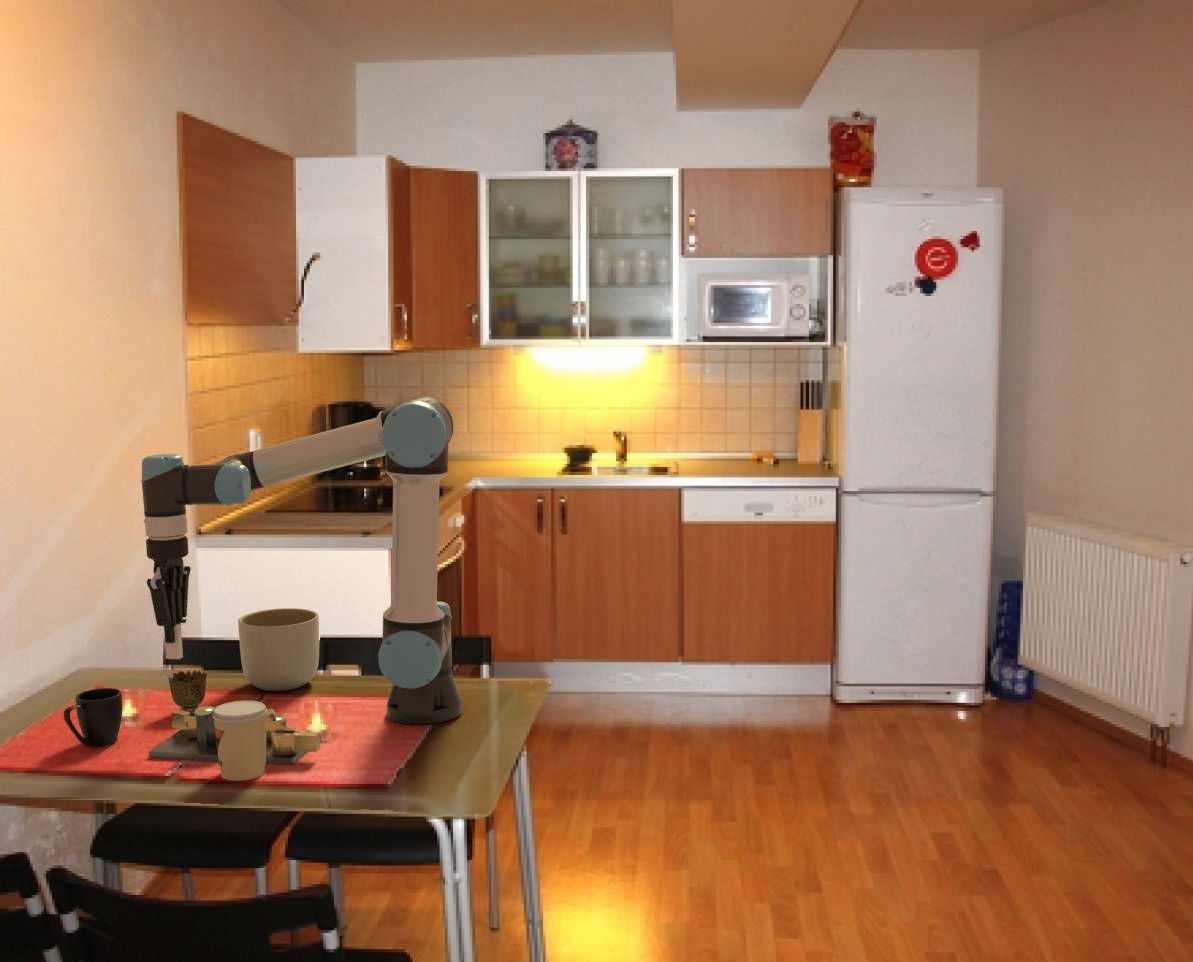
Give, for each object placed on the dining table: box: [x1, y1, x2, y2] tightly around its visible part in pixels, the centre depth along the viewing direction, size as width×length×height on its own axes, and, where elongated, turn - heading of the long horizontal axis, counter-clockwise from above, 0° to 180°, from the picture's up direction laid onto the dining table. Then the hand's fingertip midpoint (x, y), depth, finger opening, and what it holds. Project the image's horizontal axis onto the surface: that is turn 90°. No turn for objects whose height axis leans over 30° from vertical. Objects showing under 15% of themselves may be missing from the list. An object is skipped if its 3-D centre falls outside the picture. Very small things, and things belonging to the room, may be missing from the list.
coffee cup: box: [213, 700, 268, 782], centre depth 233 cm, size 9×9×12 cm
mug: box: [63, 687, 123, 748], centre depth 249 cm, size 8×12×10 cm
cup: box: [168, 669, 208, 712], centre depth 268 cm, size 8×7×8 cm
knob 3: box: [271, 727, 321, 755], centre depth 240 cm, size 9×5×4 cm, turn 80°
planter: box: [237, 607, 320, 692], centre depth 286 cm, size 17×17×15 cm
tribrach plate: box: [148, 705, 322, 766], centre depth 246 cm, size 28×14×8 cm, turn 80°
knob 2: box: [266, 708, 288, 740], centre depth 250 cm, size 9×5×4 cm, turn 23°
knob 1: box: [171, 709, 197, 738], centre depth 252 cm, size 9×5×4 cm, turn 59°
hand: (174, 657), depth 251 cm, fingers closed
